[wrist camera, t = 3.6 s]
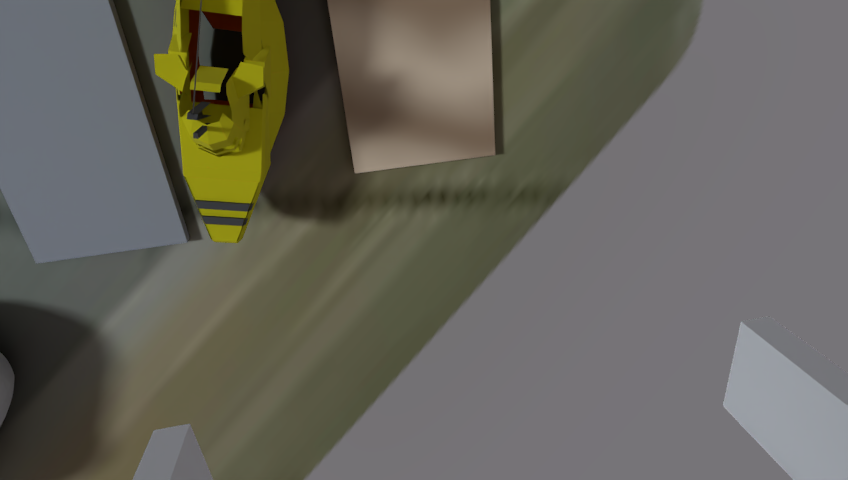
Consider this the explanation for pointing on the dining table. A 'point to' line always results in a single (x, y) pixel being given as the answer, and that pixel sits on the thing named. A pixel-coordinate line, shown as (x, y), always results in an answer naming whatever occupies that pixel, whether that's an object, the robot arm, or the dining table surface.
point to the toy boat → (227, 108)
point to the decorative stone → (5, 386)
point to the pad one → (79, 135)
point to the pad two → (415, 80)
